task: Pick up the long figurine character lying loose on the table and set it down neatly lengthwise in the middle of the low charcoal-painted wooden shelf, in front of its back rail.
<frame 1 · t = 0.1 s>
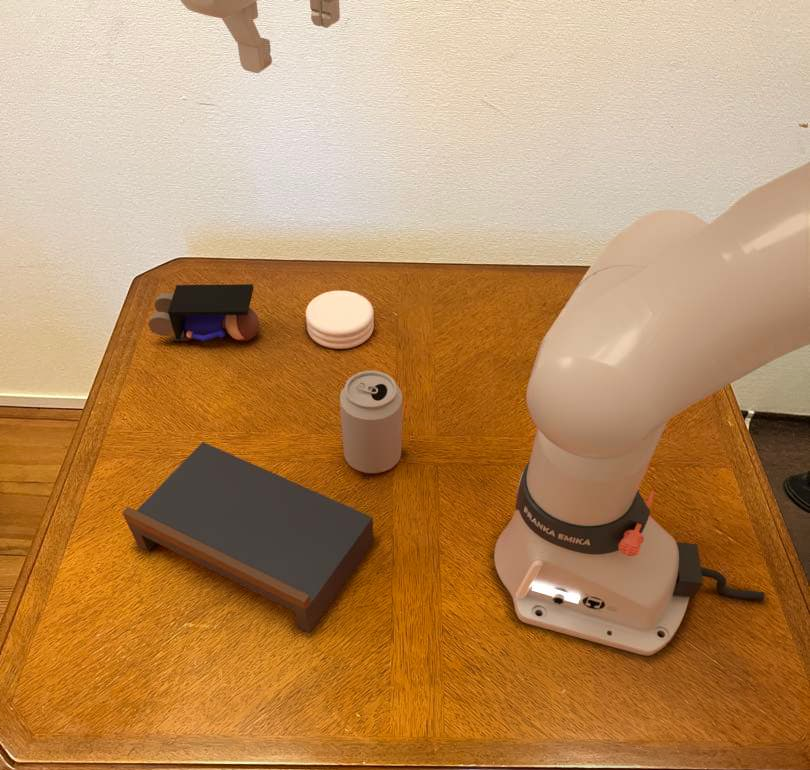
hand: (292, 45, 56), 48 cm above the table, tool pointing down, fingers open, 8 cm apart
coaster: (340, 330, 111), on the table
figurine character: (210, 337, 110), on the table
shelf: (256, 544, 87), on the table
can: (372, 457, 96), on the table
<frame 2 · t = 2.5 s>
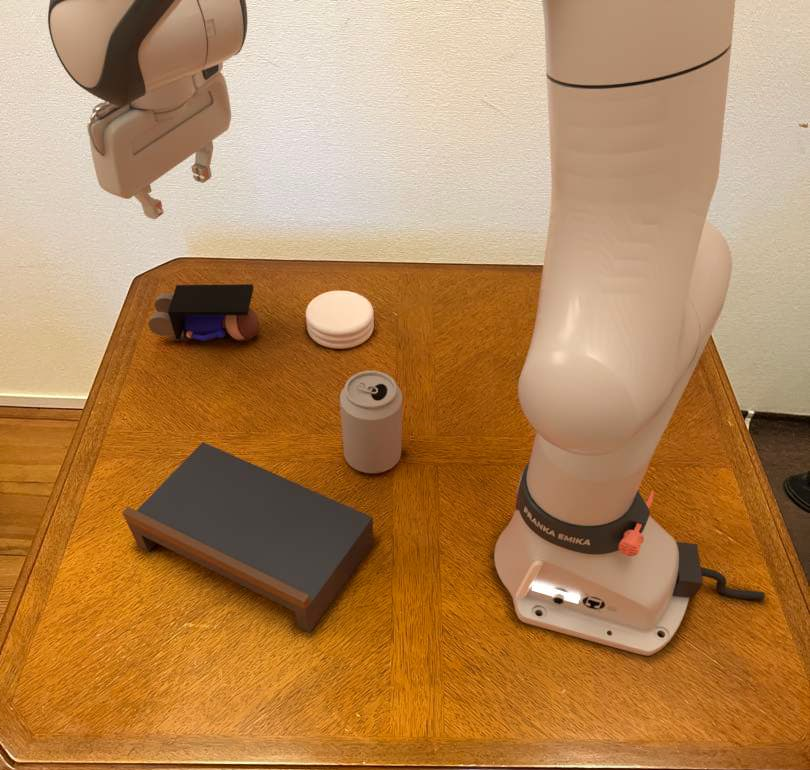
hand: (179, 197, 91), 22 cm above the table, tool pointing down, fingers open, 8 cm apart
nothing on the table moved.
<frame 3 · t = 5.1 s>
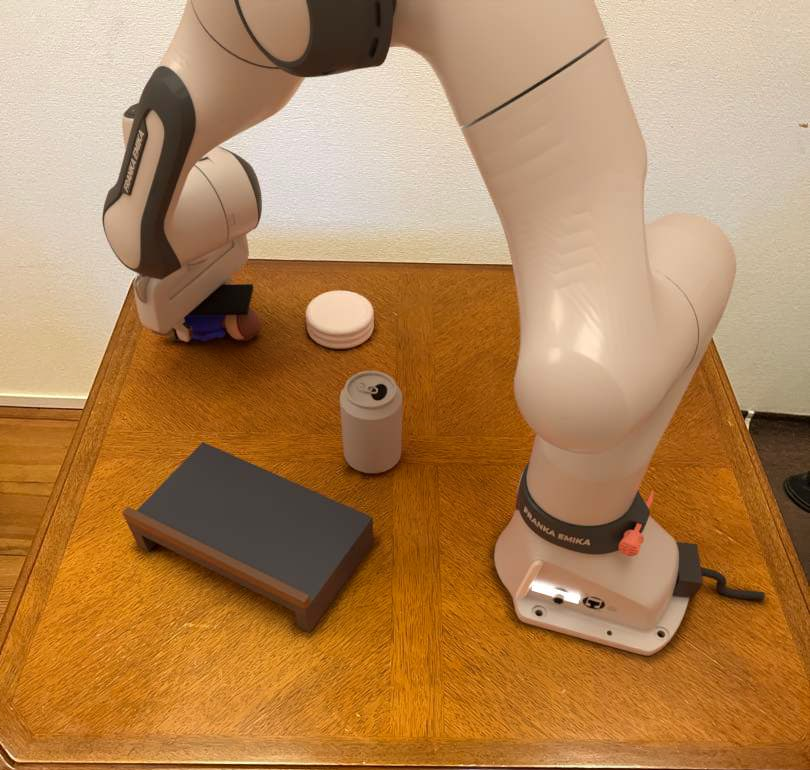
hand: (205, 321, 107), 3 cm above the table, tool pointing down, fingers closed on figurine character, 7 cm apart
figurine character: (210, 337, 110), on the table, touching gripper
everything else where it was.
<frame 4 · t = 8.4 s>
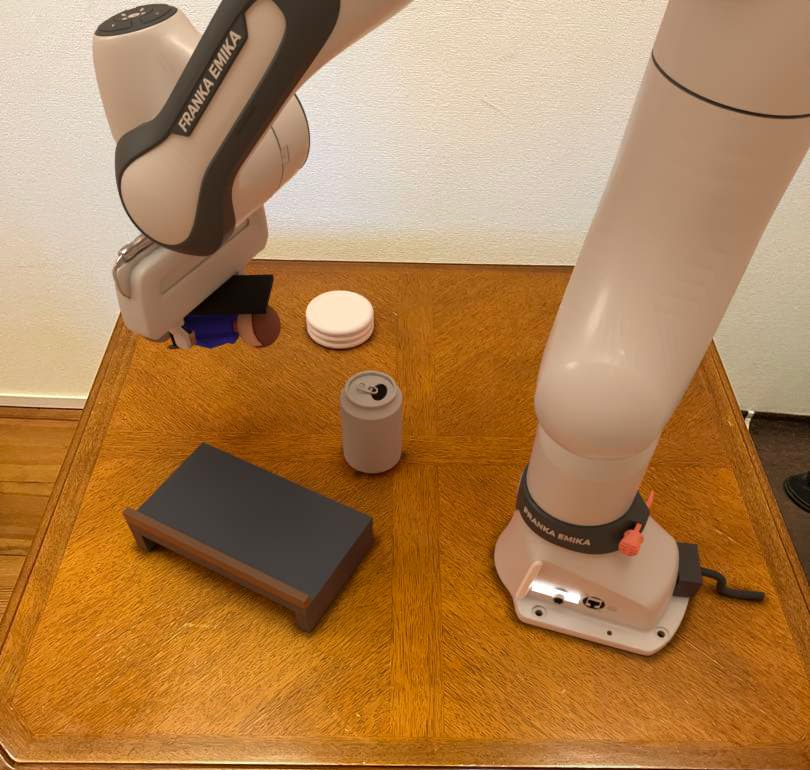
hand: (212, 323, 83), 18 cm above the table, tool pointing down, fingers closed on figurine character, 7 cm apart
figurine character: (217, 343, 85), point 15 cm above the table, touching gripper
everything else where it was.
when the fingers open (8 cm above the table, at t = 12.3 s): figurine character stays where it is, resting on shelf.
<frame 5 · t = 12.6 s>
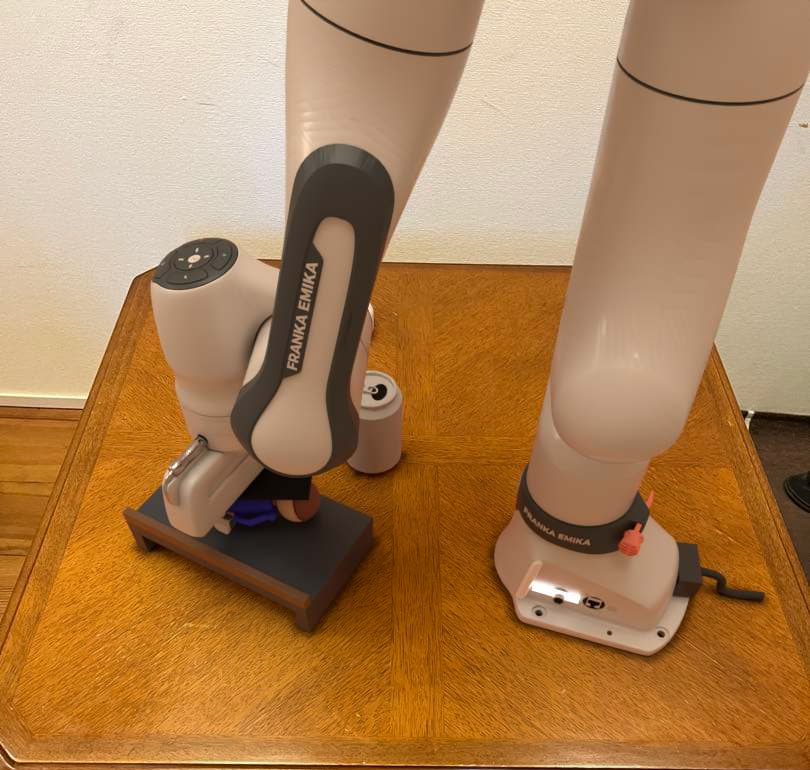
hand: (251, 497, 82), 8 cm above the table, tool pointing down, fingers open, 8 cm apart
figurine character: (255, 513, 84), point 5 cm above the table, touching shelf
everything else where it was.
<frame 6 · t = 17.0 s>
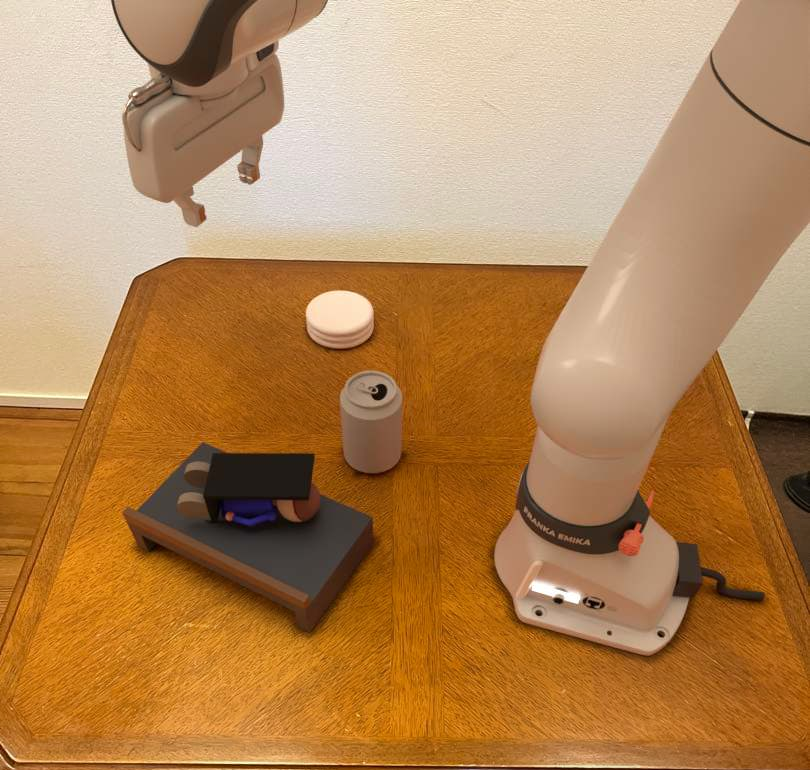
hand: (224, 201, 78), 29 cm above the table, tool pointing down, fingers open, 8 cm apart
nothing on the table moved.
at the end: figurine character inside the target area on the shelf (1.1 cm from its centre), point 4.8 cm above the shelf's base; the gripper is holding nothing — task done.
